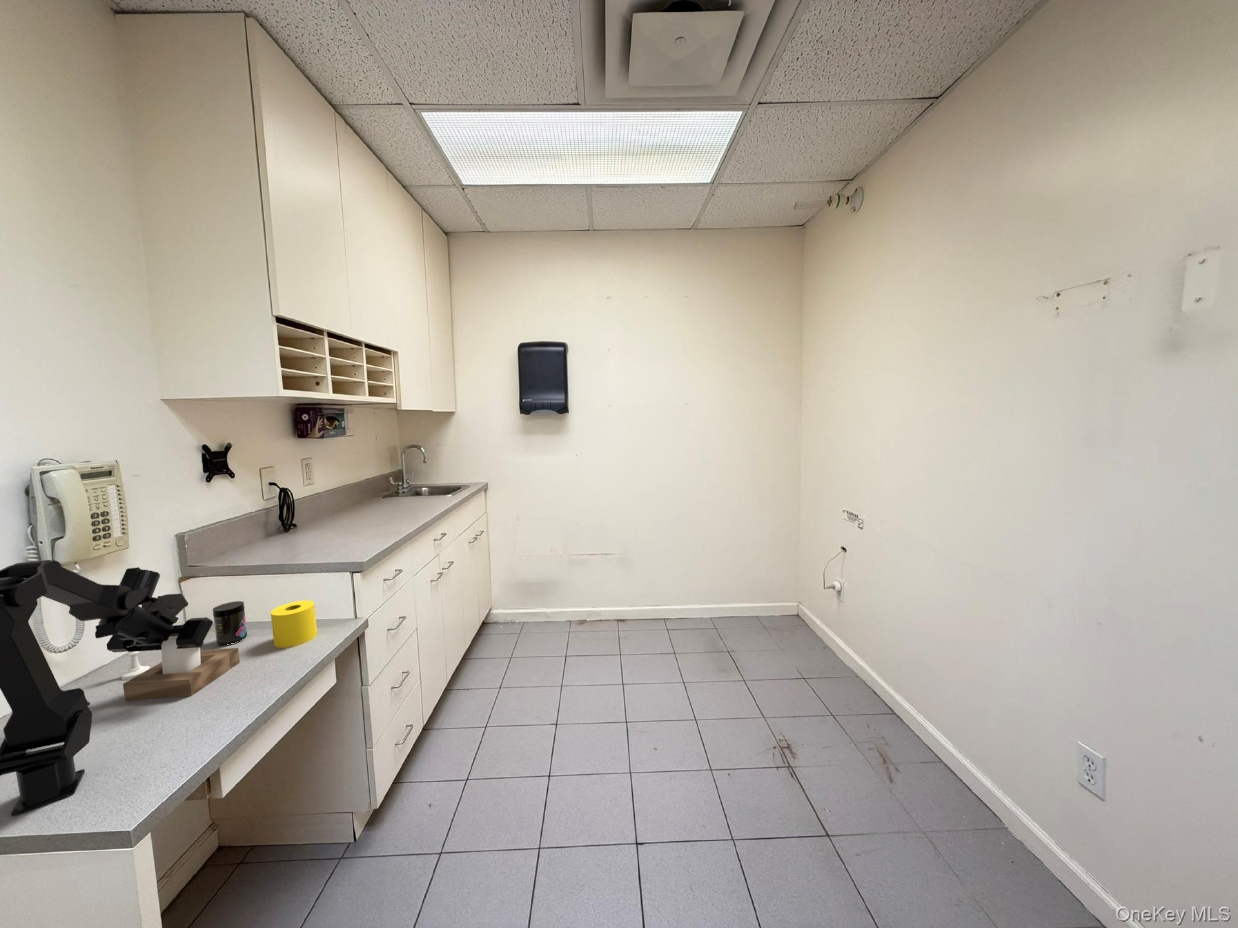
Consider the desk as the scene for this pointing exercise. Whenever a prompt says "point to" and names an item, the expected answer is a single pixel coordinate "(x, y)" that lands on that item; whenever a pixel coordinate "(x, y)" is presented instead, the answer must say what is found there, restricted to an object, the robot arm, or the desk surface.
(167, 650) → the can
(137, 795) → the desk surface
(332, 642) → the desk surface
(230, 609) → the supplement container
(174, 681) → the bored block
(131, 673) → the chess piece
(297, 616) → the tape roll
